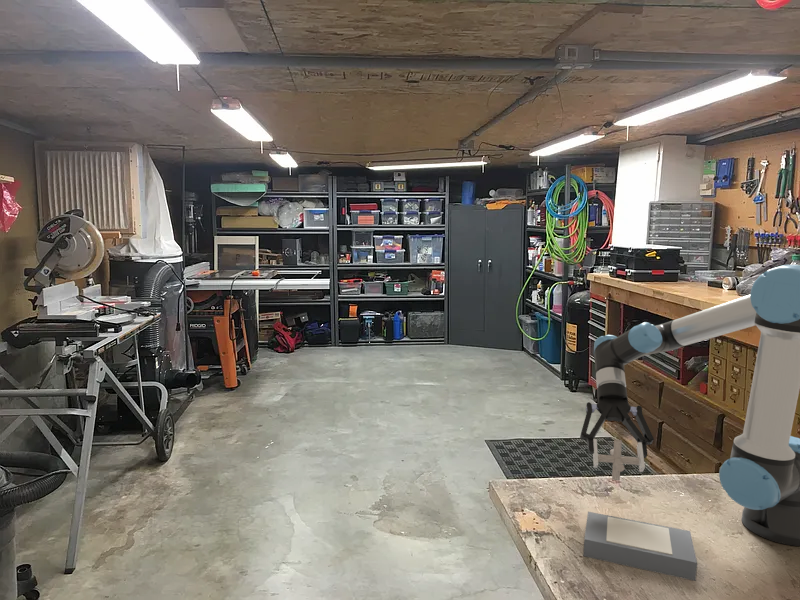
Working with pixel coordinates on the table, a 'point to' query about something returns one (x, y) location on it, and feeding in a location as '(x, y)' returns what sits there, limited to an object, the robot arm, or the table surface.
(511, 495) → the table surface
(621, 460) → the pipe connector
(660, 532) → the grey flat block
